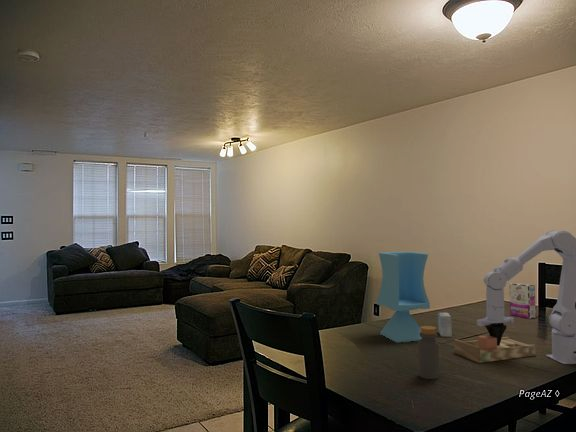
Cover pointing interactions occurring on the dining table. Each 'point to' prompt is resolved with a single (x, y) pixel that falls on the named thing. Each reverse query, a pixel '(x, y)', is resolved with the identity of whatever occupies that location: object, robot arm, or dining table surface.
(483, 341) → the brick block
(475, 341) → the trap tray
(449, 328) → the medicine box
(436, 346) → the bottle
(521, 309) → the candy bar box
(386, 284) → the blue pedestal chair
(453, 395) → the dining table surface
